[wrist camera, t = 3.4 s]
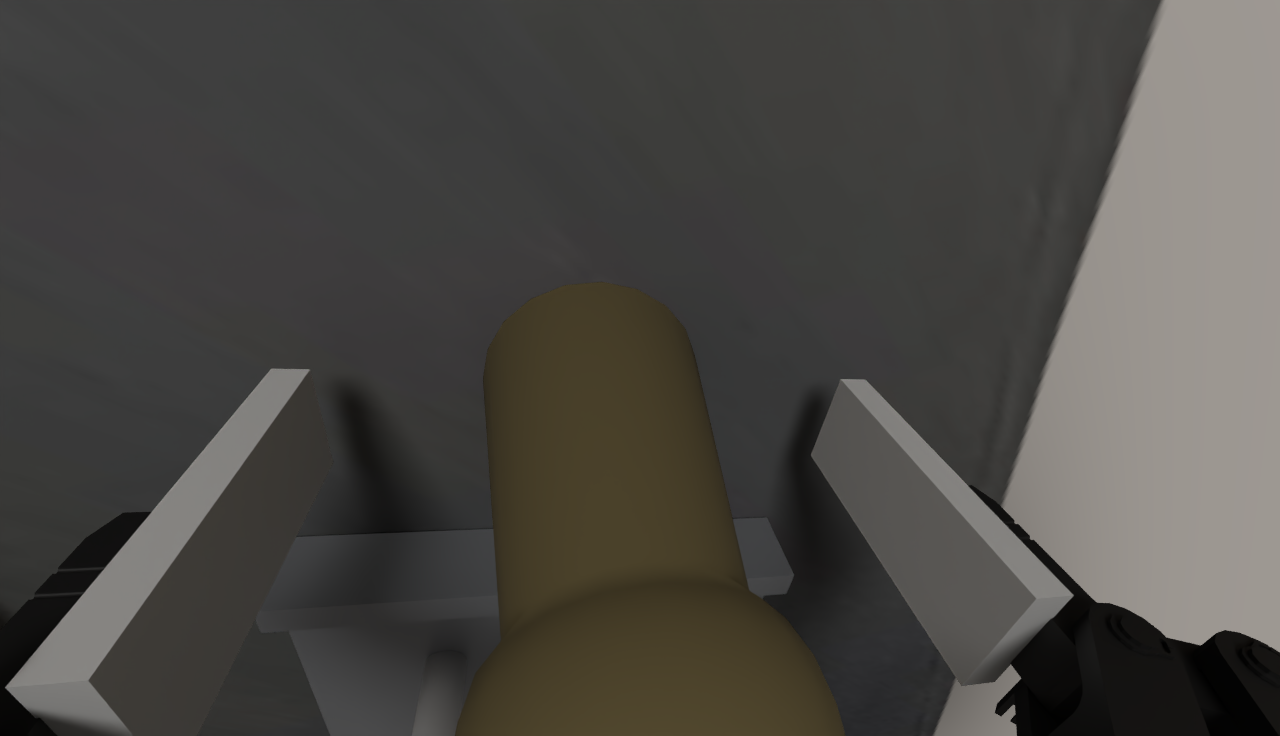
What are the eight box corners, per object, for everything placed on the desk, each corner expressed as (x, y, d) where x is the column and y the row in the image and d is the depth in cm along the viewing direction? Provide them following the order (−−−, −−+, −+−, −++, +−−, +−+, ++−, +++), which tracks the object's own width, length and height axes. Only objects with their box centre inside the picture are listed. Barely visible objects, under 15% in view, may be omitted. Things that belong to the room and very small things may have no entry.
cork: (522, 479, 16) (496, 1050, 7) (448, 313, 13) (210, 990, 4) (706, 432, 16) (915, 928, 7) (680, 257, 13) (1010, 764, 4)
